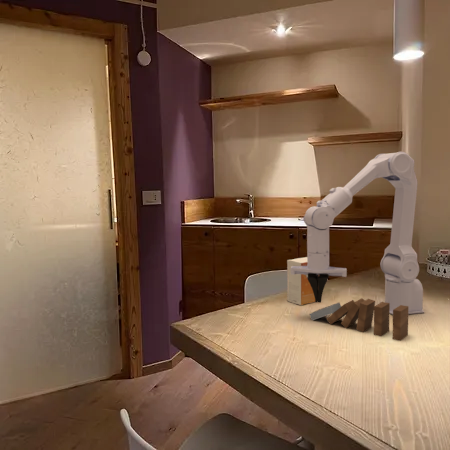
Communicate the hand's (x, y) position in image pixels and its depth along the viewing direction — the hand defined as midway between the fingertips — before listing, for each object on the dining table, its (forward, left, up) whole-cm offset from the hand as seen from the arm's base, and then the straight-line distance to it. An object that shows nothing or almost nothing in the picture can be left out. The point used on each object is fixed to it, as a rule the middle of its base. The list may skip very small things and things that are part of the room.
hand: (318, 301), depth 116 cm
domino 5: (-13, +17, -5) cm, 22 cm away
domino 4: (-10, +14, -5) cm, 18 cm away
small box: (-2, -17, -5) cm, 17 cm away
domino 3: (-8, +10, -5) cm, 14 cm away
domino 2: (-5, +7, -4) cm, 10 cm away
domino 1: (-3, +3, -4) cm, 6 cm away
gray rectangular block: (+1, -1, -4) cm, 4 cm away
